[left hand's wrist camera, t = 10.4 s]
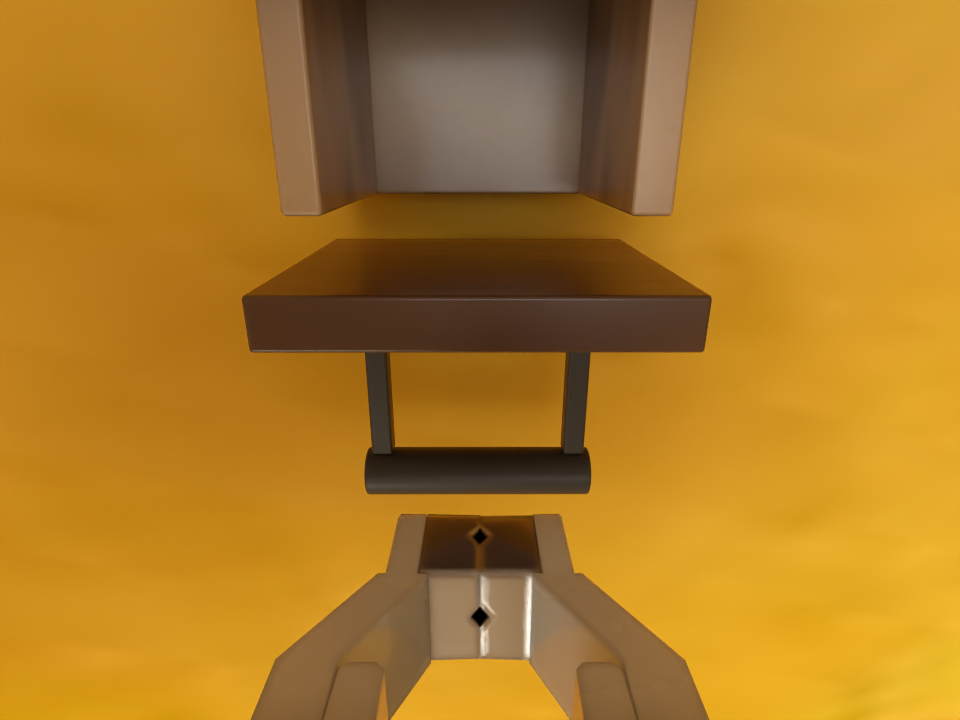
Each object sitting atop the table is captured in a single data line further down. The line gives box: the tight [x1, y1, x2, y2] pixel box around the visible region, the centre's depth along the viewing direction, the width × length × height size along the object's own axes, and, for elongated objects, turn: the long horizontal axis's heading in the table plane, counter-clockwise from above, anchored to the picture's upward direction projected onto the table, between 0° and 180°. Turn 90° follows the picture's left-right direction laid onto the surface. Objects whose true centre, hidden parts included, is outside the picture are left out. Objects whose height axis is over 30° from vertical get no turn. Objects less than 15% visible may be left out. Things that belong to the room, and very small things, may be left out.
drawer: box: [242, 0, 712, 494], centre depth 14 cm, size 19×9×8 cm, turn 0°
